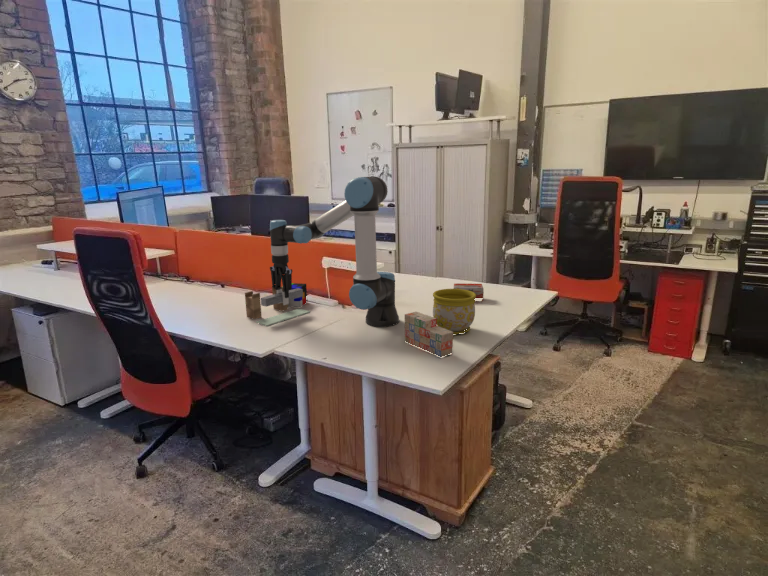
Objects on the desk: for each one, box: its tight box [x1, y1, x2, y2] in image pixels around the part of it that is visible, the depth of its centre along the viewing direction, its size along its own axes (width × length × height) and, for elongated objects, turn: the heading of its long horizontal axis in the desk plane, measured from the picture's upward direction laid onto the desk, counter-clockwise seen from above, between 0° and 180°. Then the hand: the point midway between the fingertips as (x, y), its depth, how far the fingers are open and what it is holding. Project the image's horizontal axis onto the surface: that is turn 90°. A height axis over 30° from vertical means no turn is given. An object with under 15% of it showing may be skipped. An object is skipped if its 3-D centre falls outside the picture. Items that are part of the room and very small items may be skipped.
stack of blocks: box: [404, 311, 454, 357], centre depth 191 cm, size 21×6×12 cm, turn 37°
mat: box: [255, 308, 311, 327], centre depth 232 cm, size 8×26×1 cm, turn 141°
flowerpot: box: [432, 288, 476, 334], centre depth 210 cm, size 18×18×16 cm
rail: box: [260, 288, 303, 308], centre depth 230 cm, size 22×4×4 cm, turn 141°
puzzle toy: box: [281, 282, 308, 308], centre depth 253 cm, size 10×10×10 cm
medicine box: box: [453, 283, 484, 299], centre depth 258 cm, size 15×8×8 cm, turn 85°
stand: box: [244, 286, 289, 320], centre depth 238 cm, size 6×20×12 cm, turn 141°
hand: (283, 303), depth 231 cm, fingers closed on rail, 3 cm apart
